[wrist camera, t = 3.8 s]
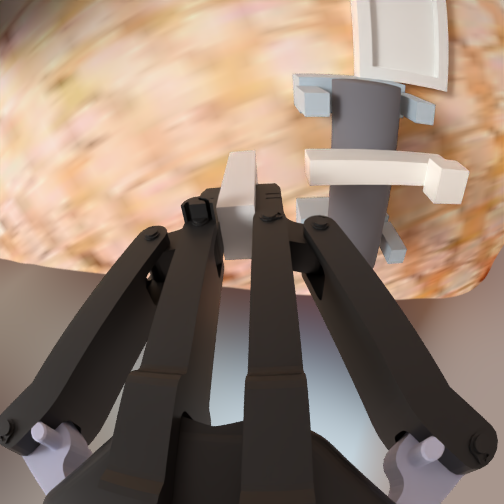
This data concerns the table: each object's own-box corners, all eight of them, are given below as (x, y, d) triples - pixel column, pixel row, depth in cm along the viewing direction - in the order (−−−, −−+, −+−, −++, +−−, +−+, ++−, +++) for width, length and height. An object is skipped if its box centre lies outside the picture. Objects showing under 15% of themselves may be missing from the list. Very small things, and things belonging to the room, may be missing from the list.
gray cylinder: (324, 77, 18) (342, 84, 14) (384, 82, 18) (413, 92, 14) (320, 243, 28) (329, 278, 24) (366, 240, 28) (381, 274, 24)
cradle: (289, 73, 21) (303, 82, 15) (389, 79, 21) (436, 95, 14) (293, 222, 32) (302, 275, 25) (374, 219, 31) (400, 268, 24)
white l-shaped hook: (304, 142, 17) (315, 164, 14) (441, 149, 16) (469, 171, 13) (304, 177, 18) (314, 205, 15) (436, 179, 17) (460, 204, 15)
